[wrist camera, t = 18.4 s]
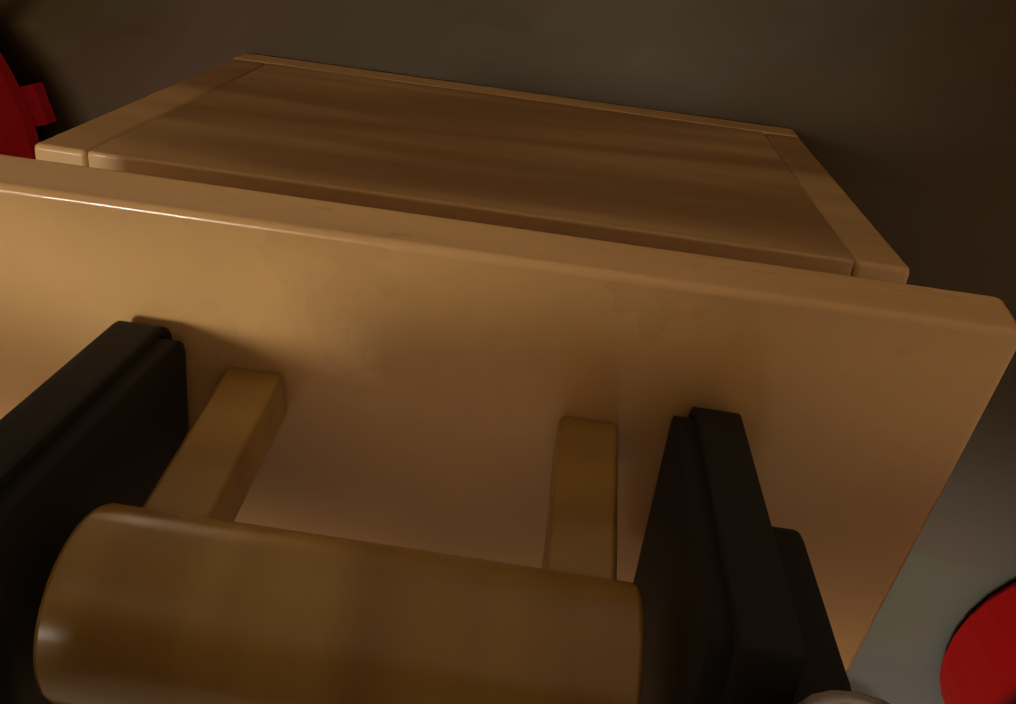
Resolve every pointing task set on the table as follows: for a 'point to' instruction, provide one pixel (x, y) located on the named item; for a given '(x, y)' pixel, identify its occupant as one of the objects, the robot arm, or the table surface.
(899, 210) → the table surface
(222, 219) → the lid
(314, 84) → the chest
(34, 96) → the alarm clock
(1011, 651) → the soda can
